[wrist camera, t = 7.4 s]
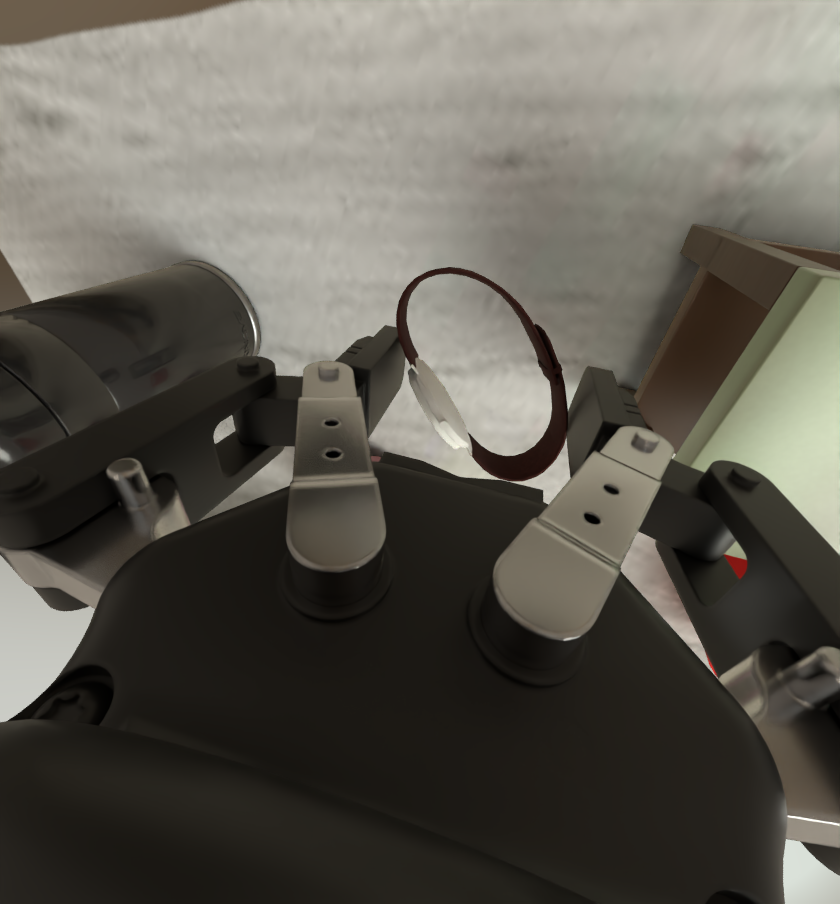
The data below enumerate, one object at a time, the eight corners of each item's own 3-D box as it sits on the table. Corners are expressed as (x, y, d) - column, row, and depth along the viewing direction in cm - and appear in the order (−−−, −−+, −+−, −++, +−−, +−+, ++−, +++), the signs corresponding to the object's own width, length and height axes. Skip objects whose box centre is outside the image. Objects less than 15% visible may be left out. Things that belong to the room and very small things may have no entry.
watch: (377, 302, 14) (335, 337, 11) (496, 217, 11) (483, 233, 9) (483, 462, 17) (472, 523, 14) (596, 421, 14) (610, 483, 11)
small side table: (608, 403, 30) (642, 533, 19) (692, 224, 22) (822, 275, 12) (794, 443, 28) (944, 611, 17) (952, 262, 20) (1380, 363, 10)
